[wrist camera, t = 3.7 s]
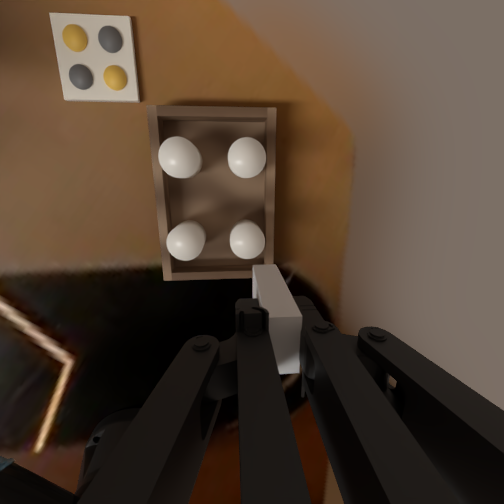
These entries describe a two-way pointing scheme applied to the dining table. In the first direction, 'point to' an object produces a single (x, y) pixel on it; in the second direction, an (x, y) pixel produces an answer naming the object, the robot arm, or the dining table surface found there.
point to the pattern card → (96, 57)
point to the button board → (214, 186)
